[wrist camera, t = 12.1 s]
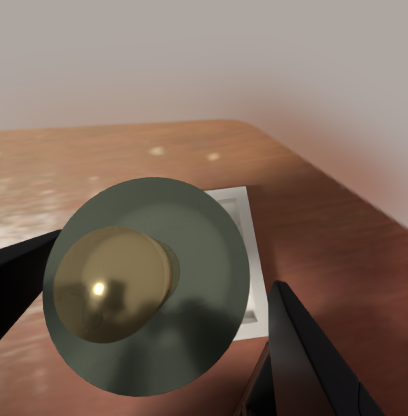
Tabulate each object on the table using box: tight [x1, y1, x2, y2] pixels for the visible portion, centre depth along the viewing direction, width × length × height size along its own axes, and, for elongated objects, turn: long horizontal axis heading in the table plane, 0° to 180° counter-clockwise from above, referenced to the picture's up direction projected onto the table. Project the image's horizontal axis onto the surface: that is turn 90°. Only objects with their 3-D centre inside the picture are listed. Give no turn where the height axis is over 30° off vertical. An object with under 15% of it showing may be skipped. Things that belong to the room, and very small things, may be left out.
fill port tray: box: [204, 186, 268, 341], centre depth 17 cm, size 12×12×2 cm
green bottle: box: [43, 177, 250, 397], centre depth 10 cm, size 5×5×15 cm
